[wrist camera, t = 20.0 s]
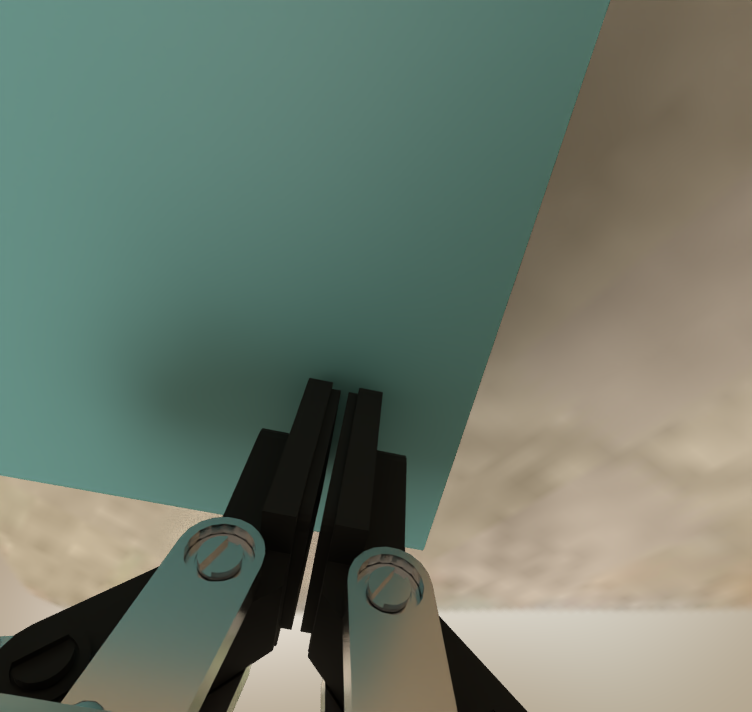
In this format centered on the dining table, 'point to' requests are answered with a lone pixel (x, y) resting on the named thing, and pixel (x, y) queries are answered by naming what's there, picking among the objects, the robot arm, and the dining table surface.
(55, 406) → the lid
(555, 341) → the dining table surface
